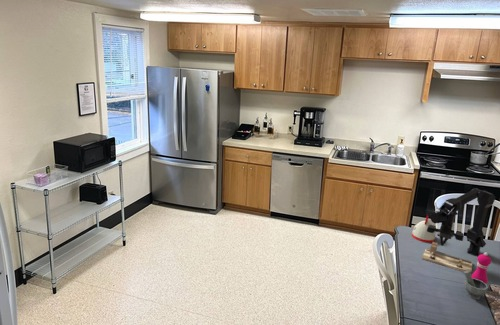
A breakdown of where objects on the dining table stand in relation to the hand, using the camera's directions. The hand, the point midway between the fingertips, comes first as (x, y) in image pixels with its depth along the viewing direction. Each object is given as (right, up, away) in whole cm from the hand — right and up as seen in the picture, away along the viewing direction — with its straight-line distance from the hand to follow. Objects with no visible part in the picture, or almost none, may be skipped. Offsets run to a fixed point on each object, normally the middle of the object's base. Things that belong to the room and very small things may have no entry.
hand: (442, 245), depth 214 cm
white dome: (+1, -1, +26) cm, 26 cm away
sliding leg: (-5, -5, +2) cm, 7 cm away
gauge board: (+2, -9, -2) cm, 9 cm away
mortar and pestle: (-2, -18, -32) cm, 36 cm away
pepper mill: (+5, -16, -25) cm, 30 cm away
